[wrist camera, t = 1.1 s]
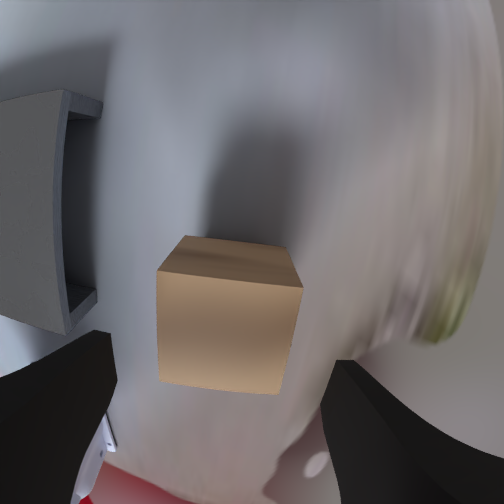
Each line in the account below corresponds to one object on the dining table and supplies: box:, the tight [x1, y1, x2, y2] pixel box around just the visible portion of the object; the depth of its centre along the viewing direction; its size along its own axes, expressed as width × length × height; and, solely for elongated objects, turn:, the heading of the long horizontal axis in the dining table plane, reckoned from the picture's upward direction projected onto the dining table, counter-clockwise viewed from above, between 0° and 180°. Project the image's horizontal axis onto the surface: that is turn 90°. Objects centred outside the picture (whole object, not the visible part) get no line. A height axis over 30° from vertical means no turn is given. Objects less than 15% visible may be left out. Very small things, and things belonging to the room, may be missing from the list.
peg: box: [157, 235, 303, 395], centre depth 14 cm, size 5×5×7 cm
